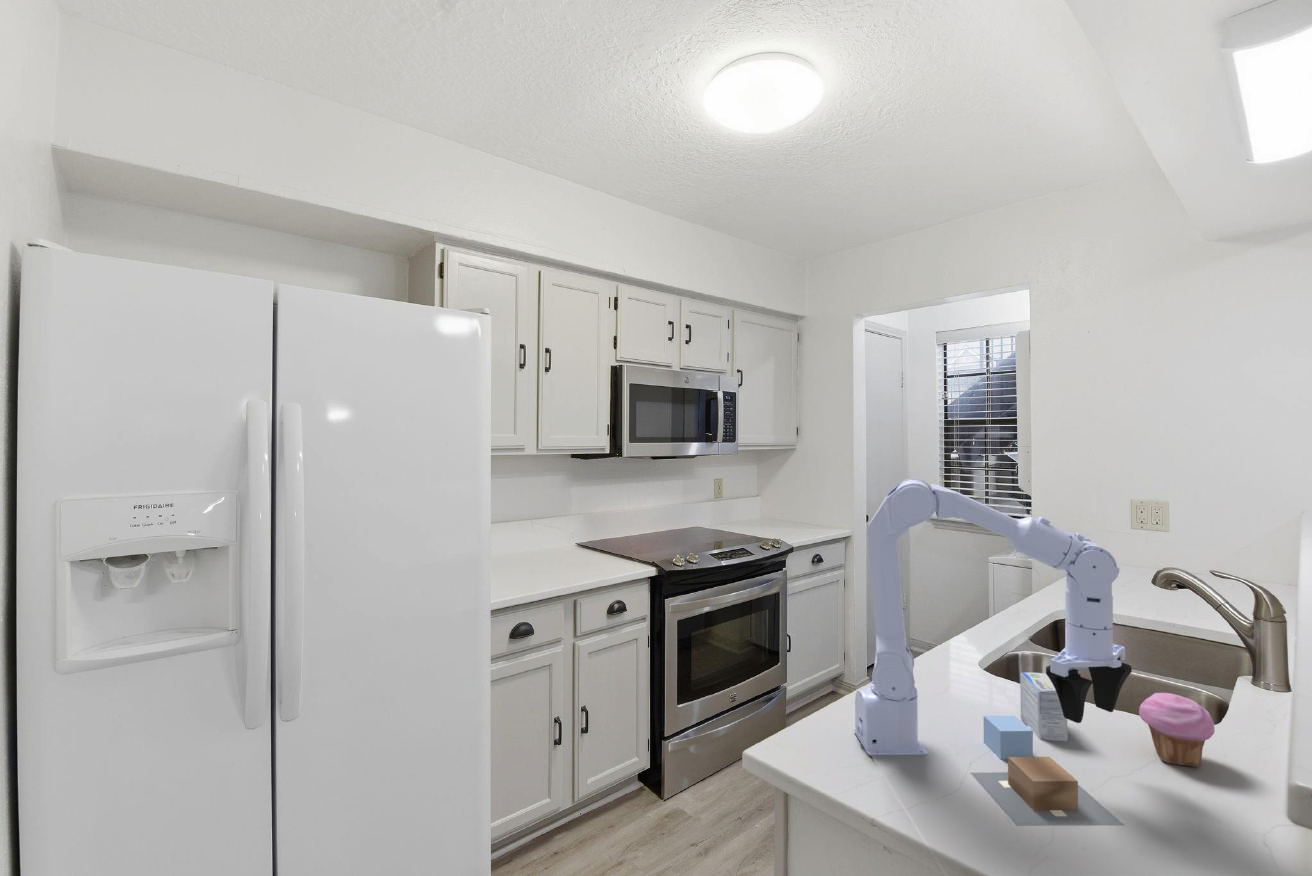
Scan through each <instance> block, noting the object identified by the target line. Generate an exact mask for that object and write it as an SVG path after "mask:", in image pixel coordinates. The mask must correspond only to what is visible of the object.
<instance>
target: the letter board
mask: <svg viewBox="0 0 1312 876" xmlns="http://www.w3.org/2000/svg"><path fill="white" fill-rule="evenodd" d="M970 774H971V776H972V777H974V779H975V780H976V781H977V782H978V784H979V785H980V786H981V787H982V788H983V790H985V792H987V794H988V795H989V796H990V797H991V799H992V800H993V801H994V802H995V803H996V804H997V805H998V806H999V807H1000V809H1002V811H1003V812H1004V813H1005V815H1007V817H1008V818H1009V819H1010V821H1012V822H1013V824H1014V825H1015V826H1018V827H1019V826H1020V827H1021V826H1022V827H1023V826H1026V827H1028V826H1125V824H1124V823H1123V822H1122V821H1121V820H1119V819H1118V818H1117V817H1116V816H1115V815H1114V814H1113V813H1111V811H1110V810H1108V809H1107V808H1106V807H1105V806H1103V805H1102V804H1101V803H1100V802H1099V801H1098V800H1097V799H1096V798H1094V797H1093V796H1092V795H1091V794H1090V793H1088V792H1087V790H1085V789H1084V788H1083V787H1082V786H1081V785H1079V784H1078V810H1032V809H1031V807H1030V806H1029V805H1028V804H1027V803H1026V802H1025V801H1024V800H1023V799H1022V798H1021V797H1020V796H1019V795H1018V794H1017V793H1016V792H1015V791H1014V790H1013V789H1012V788H1011V787H1010V786H1009V784H1008V771H1005V772H1004V771H1003V772H993V771H992V772H990V771H989V772H984V771H983V772H970Z"/></svg>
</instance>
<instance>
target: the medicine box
mask: <svg viewBox="0 0 1312 876" xmlns="http://www.w3.org/2000/svg"><path fill="white" fill-rule="evenodd" d="M1019 680H1020V681H1019V682H1020V683H1019V685H1020V686H1019V687H1020V719H1021V720H1022V722H1023V723H1025V725H1026V726H1027V727H1029V728H1030V729H1031V730H1032V731H1033V733H1034V735H1035V736H1036V737H1037V738H1038V739H1039V740H1045V741H1057V742H1058V741H1059V742H1068V740H1069V739H1068V738H1069V737H1068V719H1066V718H1064V715H1063V711H1062V708H1061V704H1060V701H1059V698H1058V695H1057V692H1056V690H1055V688H1054V686H1053V684H1052V682H1051V680H1050V679H1049V677H1048V676H1047V674H1046V672H1045V673H1043V672H1027V671H1025V672H1020V677H1019Z"/></svg>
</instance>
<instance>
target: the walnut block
mask: <svg viewBox="0 0 1312 876" xmlns="http://www.w3.org/2000/svg"><path fill="white" fill-rule="evenodd" d="M1007 769H1008V770H1007V772H1008V784H1009V786H1010V787H1011V788H1012V789H1013V790H1014V791H1015V792H1016V793H1017V794H1018V795H1019V796H1020V797H1021V798H1022V799H1023V800H1024V801H1025V802H1026V803H1027V804H1028V805H1029V806H1030V807H1031V809H1032V810H1078V785H1079V781H1078V780H1077V779H1076V778H1075V777H1073V775H1071V774H1070V773H1069V772H1068V771H1067V770H1065V769H1064V768H1063V767H1062V766H1061V765H1060V764H1059V763H1057V762H1056V761H1055V760H1054V759H1053V758H1052V757H1050V756H1033V757H1008V760H1007Z"/></svg>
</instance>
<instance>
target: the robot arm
mask: <svg viewBox="0 0 1312 876" xmlns="http://www.w3.org/2000/svg"><path fill="white" fill-rule="evenodd" d="M930 485H931V486H930ZM934 514H936V515H935V516H936V518H937V519H938V520H941V519H943V520H944V519H950V518H959V519H961V520H964V521H966V522H969V523H971V524H973V525H976V526H978V527H981V528H983V529H985V530H988V531H990V532H993V533H995V534H997V535H999V536H1000V535H1001V536H1002V537H1005V538H1007V539H1008V541H1009V543H1010V545H1011V549H1013V551H1015V552H1018V553H1020V554H1022V555H1024V556H1026V557H1029V558H1031V559H1033V560H1036V561H1038V562H1040V563H1042V564H1044V565H1047V566H1048V567H1050V568H1053V569H1055V570H1061V571H1062V570H1064V571H1066V572H1067V573H1066V576H1065V579H1066V580H1065V585H1066V587H1065V592H1064V593H1065V594H1064V595H1065V596H1064V599H1065V600H1064V601H1065V603H1064V604H1065V606H1064V607H1065V609H1064V610H1065V612H1064V613H1065V614H1064V615H1065V616H1064V617H1065V618H1064V619H1065V624H1064V625H1065V626H1064V628H1065V629H1064V630H1065V635H1064V636H1065V637H1064V638H1065V641H1064V642H1065V643H1064V645H1065V647H1064V648H1063V649H1062V650H1061V651H1060V652H1059V653H1058V655H1056V657H1053V658H1051V659H1049V660H1050V663H1049V664H1050V665H1049V666H1046V667H1045V674H1047V676H1048V677H1049V679H1050V680H1051V682H1052V684H1053V686H1054V688H1055V690H1056V692H1057V695H1058V698H1059V701H1060V704H1061V708H1062V711H1063V715H1064V718H1066V719H1067V720H1069V721H1072V722H1073V723H1075V724H1081V723H1082V722H1083V718H1084V713H1085V712H1084V711H1085V703H1086V698H1087V695H1088V692H1089V690H1090V687H1091V686H1092V693H1093V700H1094V703H1095V707H1096V708H1098V709H1101V710H1104V711H1106V712H1108V713H1113V712H1114V710H1115V708H1116V705H1117V701H1118V698H1119V695H1120V692H1121V688H1122V687H1123V685H1124V683H1125V681H1126V679H1127V678H1128V677H1129V676H1130V674H1131V673H1132V672H1133V667H1132V666H1131V665H1129V664H1127V663H1124V662H1122V661H1125V660H1126V647H1125V646H1123V645H1118V644H1115V643H1113V642H1114V635H1113V633H1114V631H1113V630H1114V629H1113V628H1114V623H1113V622H1114V620H1113V619H1114V616H1113V615H1114V612H1113V611H1114V606H1113V605H1114V603H1113V602H1114V601H1113V599H1114V597H1113V584H1112V583H1114V582H1115V580H1117V578H1118V576H1119V573H1120V567H1118V564H1117V561H1116V559H1115V557H1114V556H1113V555H1112V554H1111V552H1109V551H1108V550H1107V549H1105V548H1103V547H1102V546H1100V545H1099V544H1098V543H1095V542H1094V541H1092V540H1091V539H1089V538H1085V536H1084V535H1083V534H1081V533H1078V532H1076V533H1074V534H1072V533H1070V532H1068V531H1065V530H1063V529H1060V528H1058V527H1056V526H1054V525H1053V524H1052V525H1051V524H1050V523H1051V521H1050V520H1049V519H1048V518H1045V517H1042V516H1039V517H1038V518H1035V517H1033V516H1027V517H1024V518H1018V519H1017V518H1013V517H1012V516H1010V515H1007V514H1005V513H1003V512H1001V511H999V510H996V509H994V508H993V507H990V506H988V505H986V504H983V503H981V502H979V501H978V500H976V499H973V498H970V497H969V496H967V495H965V494H963V493H961V492H958V491H956V490H952V489H950V488H946V487H944V486H941V485H938V484H934V483H931V484H929V483H927V482H926V481H924V480H923V479H922V480H921V479H919V478H908V479H904V480H903V481H901V482H900V483H897V485H895V487H893V488H892V489H890V490H889V491H888V492H887V494H886V495H885V498H884V499H883V501H882V502H881V503H880V506H879V507H878V509H877V510H876V512H875V514H874V515H873V517H872V518H871V520H870V522H869V523H868V526H867V531H866V534H867V544H868V555H869V565H870V566H869V567H870V569H869V570H870V580H871V589H872V590H871V592H872V603H873V614H874V625H875V639H876V640H875V643H876V644H875V648H876V649H875V650H876V651H875V654H874V666H873V670H872V674H871V676H872V677H871V678H872V681H871V683H870V686H869V687H867V688H865V689H860V690H859V689H858V690H857V691H856V692H855V697H854V704H855V705H854V706H855V709H854V711H855V714H854V715H855V717H854V718H855V719H854V720H855V724H854V725H855V728H854V730H853V731H854V735H855V736H856V737H857V738H858V740H859V741H860V743H861V745H862V747H863V748H864V750H865V751H866V753H867V755H868V756H871V757H873V756H915V755H918V756H920V755H921V756H923V755H924V756H926V755H928V754H929V752H928V751H927V749H926V748H925V747H924V746H923V744H922V743H921V742H920V741H919V736H918V735H919V733H918V732H919V731H918V730H919V727H918V723H919V722H918V719H919V717H918V711H919V710H918V689H917V688H916V686H915V681H916V680H915V677H914V668H915V659H914V658H915V657H914V656H913V653H912V651H910V648H909V647H908V643H907V635H906V630H905V629H906V628H905V620H904V619H905V617H904V616H905V615H904V607H903V595H902V582H901V574H900V573H901V571H900V562H899V552H898V551H899V550H898V539H900V537H902V536H903V535H904V534H905V533H906V532H908V530H909V529H910V528H912V527H915V526H917V525H919V524H923V523H924V522H926V521H928V520H930V518H932V517H933V515H934ZM1087 668H1088V670H1089V671H1088V672H1089V674H1090V678H1091V679H1089V678H1085V677H1083V676H1081V673H1079V671H1080V670H1084V669H1087Z"/></svg>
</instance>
